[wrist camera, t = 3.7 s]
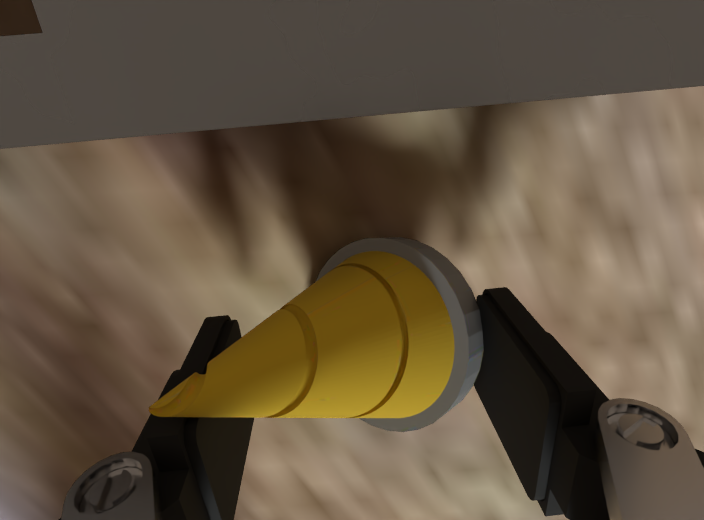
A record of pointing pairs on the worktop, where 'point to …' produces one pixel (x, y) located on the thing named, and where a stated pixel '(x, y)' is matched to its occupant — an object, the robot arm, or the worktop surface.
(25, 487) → the worktop surface
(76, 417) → the worktop surface
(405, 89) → the block
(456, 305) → the drill bit
